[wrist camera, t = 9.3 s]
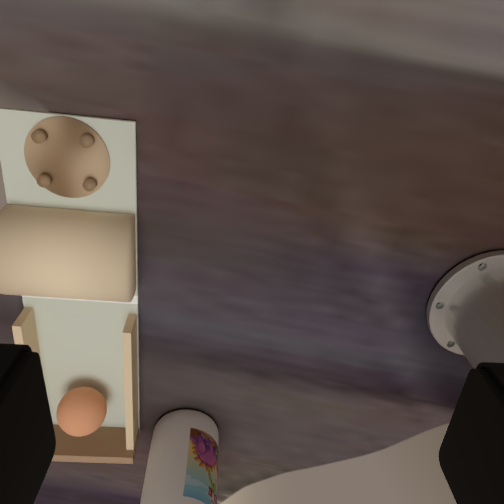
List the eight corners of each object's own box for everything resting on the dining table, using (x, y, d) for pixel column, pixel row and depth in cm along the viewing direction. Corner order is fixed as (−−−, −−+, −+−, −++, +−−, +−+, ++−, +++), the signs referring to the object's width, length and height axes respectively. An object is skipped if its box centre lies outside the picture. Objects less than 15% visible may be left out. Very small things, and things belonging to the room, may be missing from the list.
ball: (101, 398, 45) (98, 446, 45) (113, 381, 50) (110, 424, 50) (50, 395, 45) (47, 444, 45) (67, 378, 50) (64, 422, 50)
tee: (108, 120, 36) (105, 123, 35) (111, 199, 39) (108, 204, 38) (20, 111, 35) (14, 114, 34) (30, 193, 38) (25, 197, 38)
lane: (141, 114, 39) (121, 137, 32) (143, 413, 56) (131, 471, 49) (8, 100, 38) (-43, 122, 31) (52, 409, 55) (26, 468, 48)
